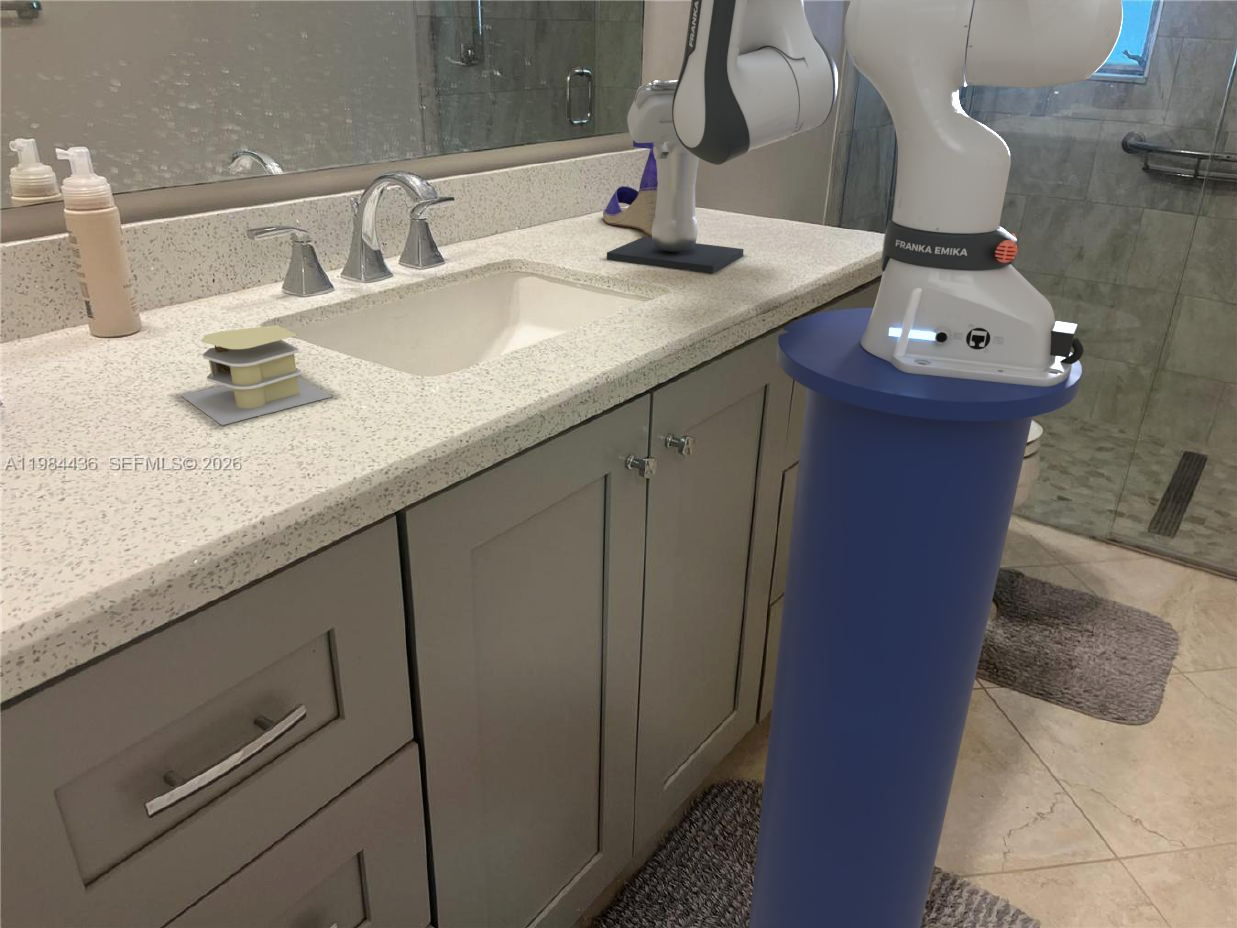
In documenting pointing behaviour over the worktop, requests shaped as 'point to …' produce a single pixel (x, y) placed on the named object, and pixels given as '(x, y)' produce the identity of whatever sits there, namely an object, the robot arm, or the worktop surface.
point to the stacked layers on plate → (252, 375)
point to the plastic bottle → (675, 200)
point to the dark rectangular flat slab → (676, 256)
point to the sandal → (636, 199)
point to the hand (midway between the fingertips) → (693, 153)
